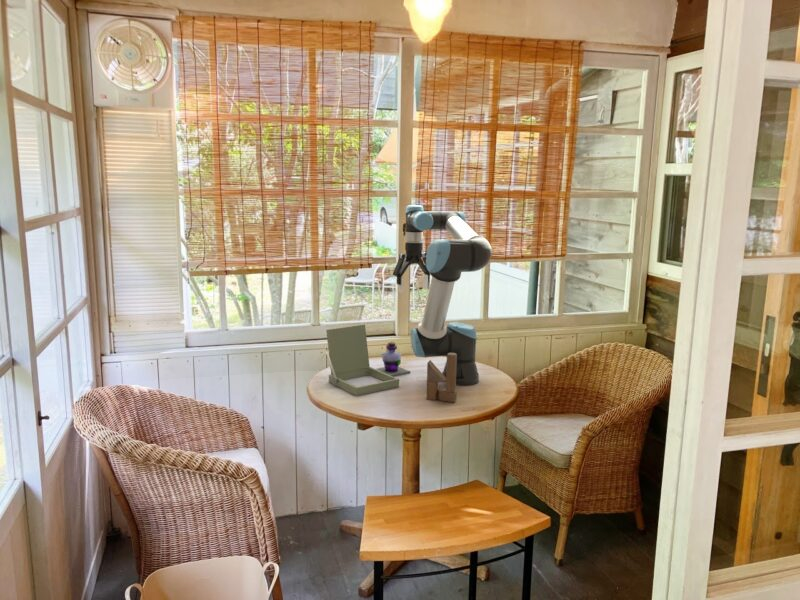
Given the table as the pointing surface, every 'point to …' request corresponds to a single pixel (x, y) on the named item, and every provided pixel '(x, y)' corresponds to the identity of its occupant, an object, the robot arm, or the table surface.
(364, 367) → the case
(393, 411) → the table surface
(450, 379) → the wooden block
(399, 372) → the pad
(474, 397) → the table surface
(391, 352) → the potion bottle
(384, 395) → the table surface
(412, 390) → the table surface
